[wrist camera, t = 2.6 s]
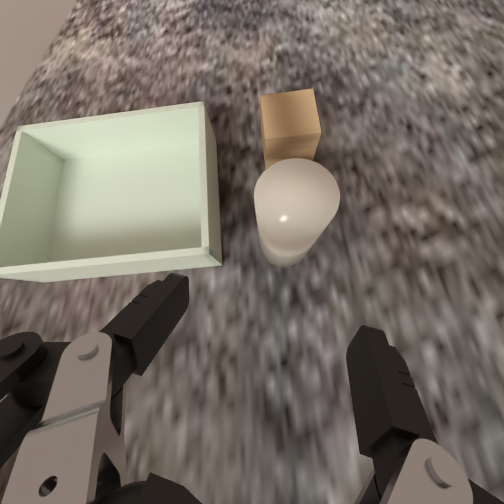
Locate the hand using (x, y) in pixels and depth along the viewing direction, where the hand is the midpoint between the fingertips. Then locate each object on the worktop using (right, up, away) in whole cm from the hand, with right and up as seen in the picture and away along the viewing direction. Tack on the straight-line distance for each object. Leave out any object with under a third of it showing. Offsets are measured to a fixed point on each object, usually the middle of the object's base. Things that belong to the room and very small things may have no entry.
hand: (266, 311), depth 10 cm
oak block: (+3, +14, +15) cm, 21 cm away
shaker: (+3, +4, +12) cm, 13 cm away
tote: (-14, +8, +14) cm, 21 cm away
